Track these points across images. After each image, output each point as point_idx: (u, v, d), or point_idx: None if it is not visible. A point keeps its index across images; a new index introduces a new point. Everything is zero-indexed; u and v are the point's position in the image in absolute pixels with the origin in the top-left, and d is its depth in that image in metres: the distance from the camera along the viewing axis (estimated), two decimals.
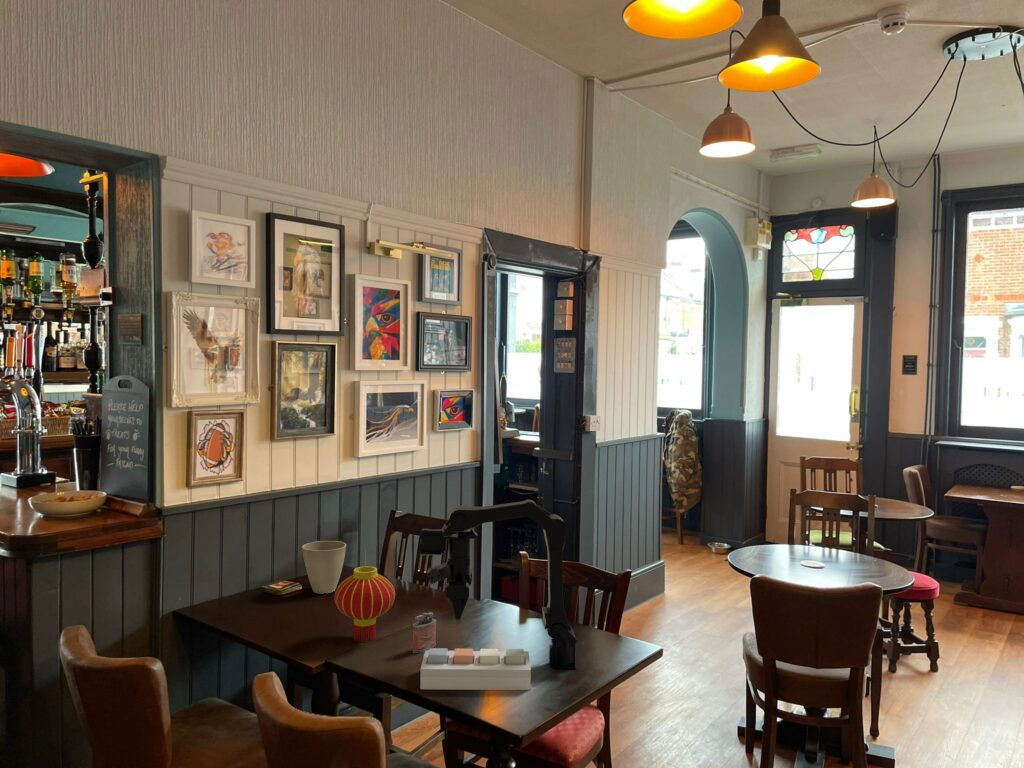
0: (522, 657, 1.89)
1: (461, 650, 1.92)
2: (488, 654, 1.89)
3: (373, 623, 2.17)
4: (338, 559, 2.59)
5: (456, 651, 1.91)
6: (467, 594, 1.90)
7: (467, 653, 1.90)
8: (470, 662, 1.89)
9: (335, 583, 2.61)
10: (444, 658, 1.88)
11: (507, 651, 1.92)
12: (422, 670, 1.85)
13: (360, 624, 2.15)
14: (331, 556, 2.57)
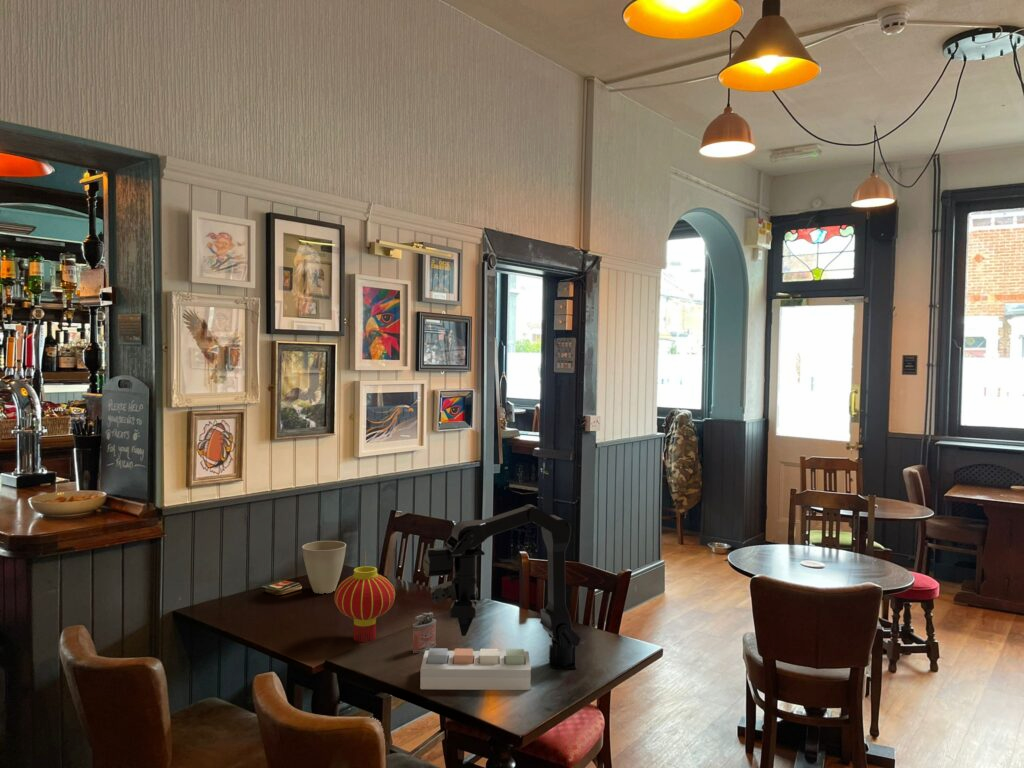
0: (522, 657, 1.89)
1: (461, 650, 1.92)
2: (488, 654, 1.89)
3: (373, 623, 2.17)
4: (338, 559, 2.59)
5: (456, 651, 1.91)
6: (473, 615, 1.81)
7: (467, 653, 1.90)
8: (470, 662, 1.89)
9: (335, 583, 2.61)
10: (444, 658, 1.88)
11: (507, 651, 1.92)
12: (422, 670, 1.85)
13: (360, 624, 2.15)
14: (331, 556, 2.57)
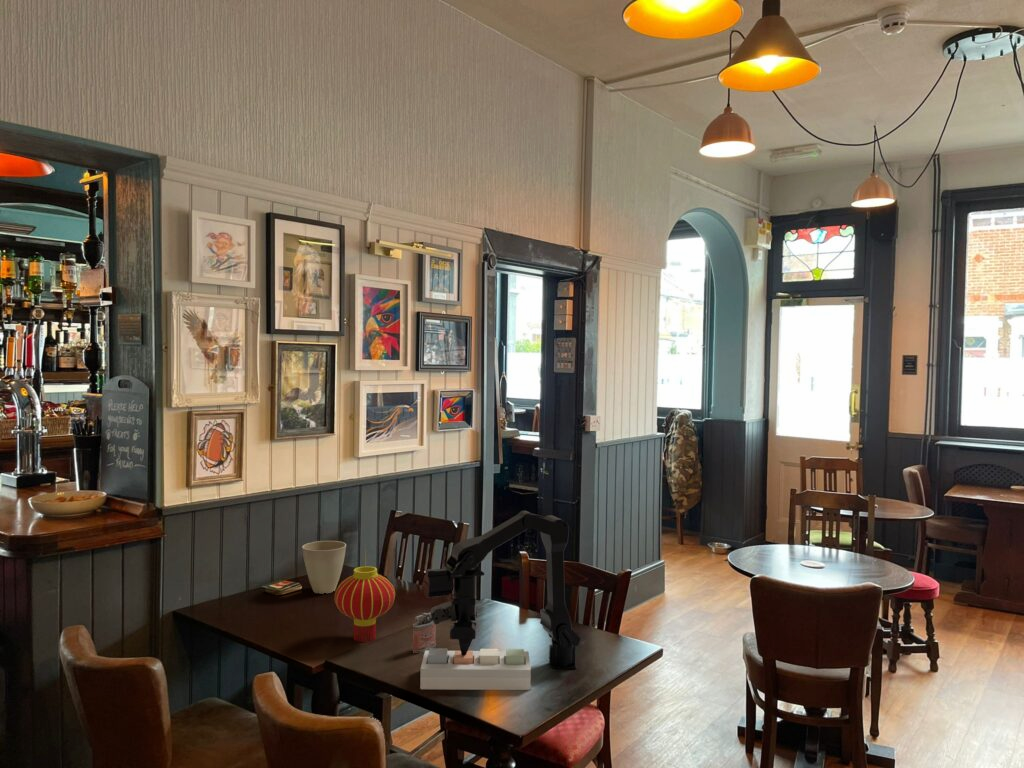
0: (522, 657, 1.89)
1: None
2: (488, 654, 1.89)
3: (373, 623, 2.17)
4: (338, 559, 2.59)
5: (456, 654, 1.91)
6: (473, 636, 1.81)
7: (467, 656, 1.90)
8: None
9: (335, 583, 2.61)
10: (444, 658, 1.88)
11: (507, 651, 1.92)
12: (422, 670, 1.85)
13: (360, 624, 2.15)
14: (331, 556, 2.57)
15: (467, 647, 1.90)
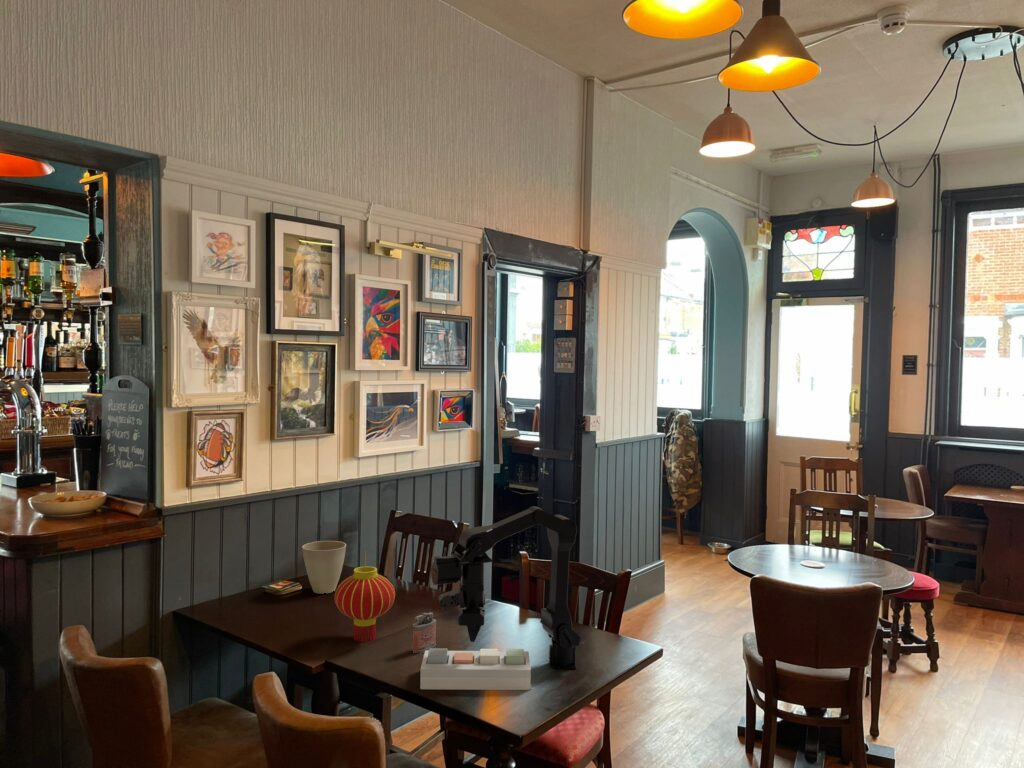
0: (522, 657, 1.89)
1: (461, 654, 1.92)
2: (488, 654, 1.89)
3: (373, 623, 2.17)
4: (338, 559, 2.59)
5: (456, 655, 1.91)
6: (482, 623, 1.81)
7: (467, 658, 1.90)
8: None
9: (335, 583, 2.61)
10: (444, 658, 1.88)
11: (507, 651, 1.92)
12: (422, 670, 1.85)
13: (360, 624, 2.15)
14: (331, 556, 2.57)
15: (476, 634, 1.90)
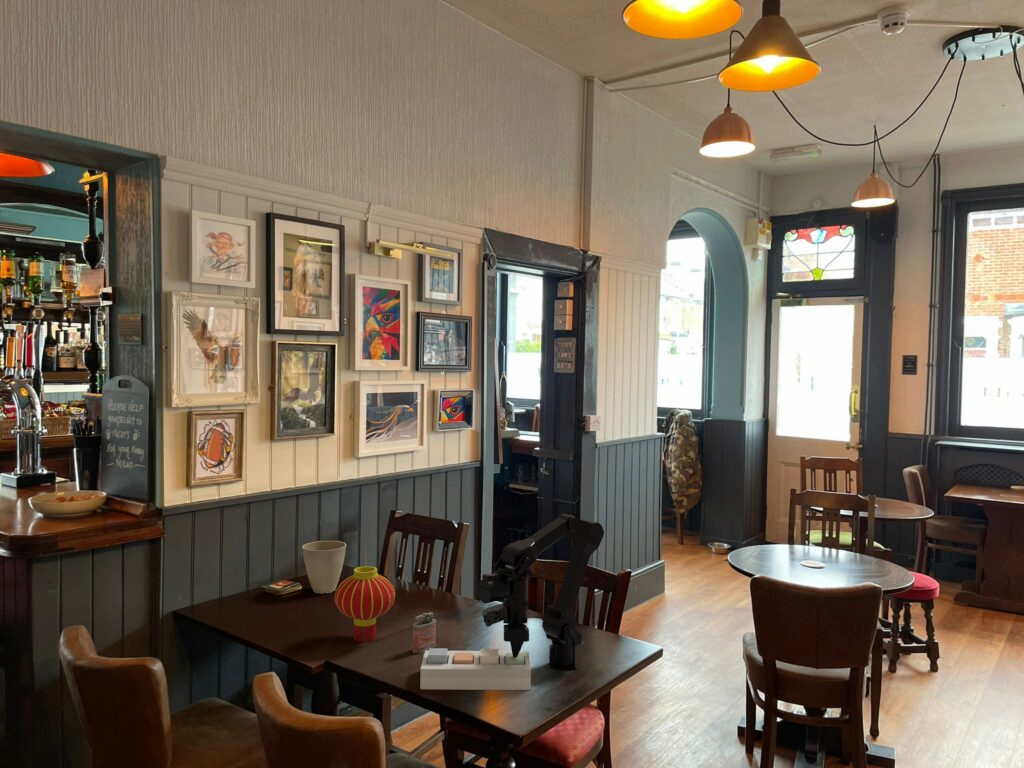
0: (522, 661, 1.89)
1: (461, 654, 1.92)
2: (488, 654, 1.89)
3: (373, 623, 2.17)
4: (338, 559, 2.59)
5: (456, 655, 1.91)
6: (527, 639, 1.82)
7: (467, 658, 1.90)
8: None
9: (335, 583, 2.61)
10: (444, 658, 1.88)
11: (507, 655, 1.92)
12: (422, 670, 1.85)
13: (360, 624, 2.15)
14: (331, 556, 2.57)
15: (519, 649, 1.90)
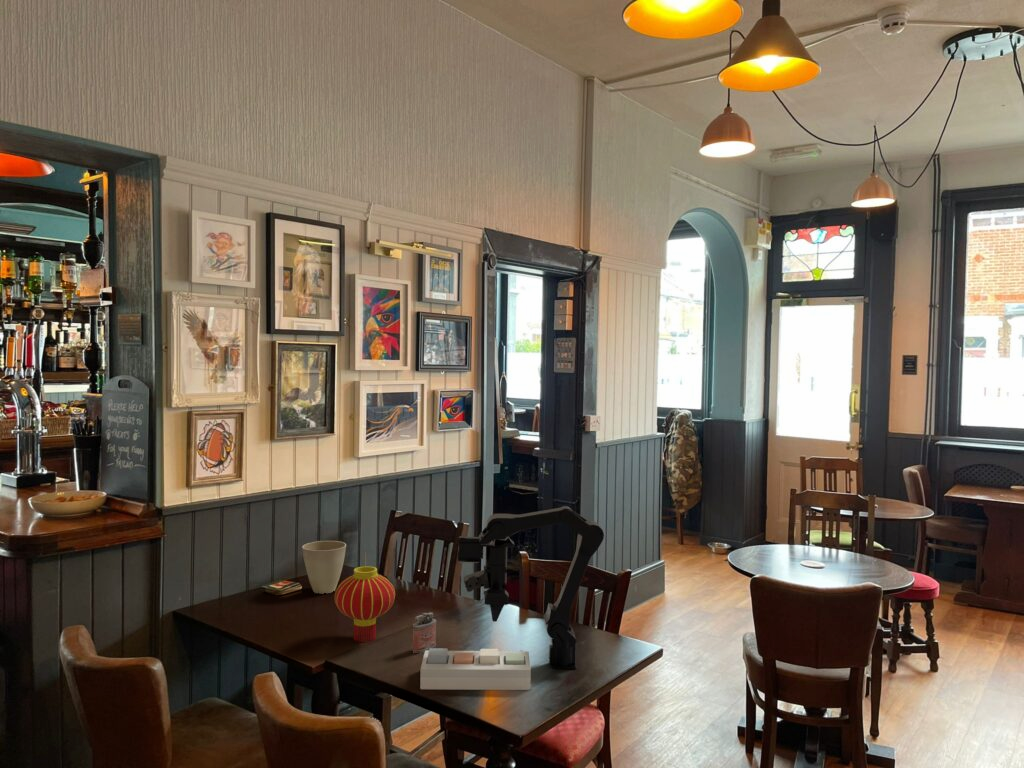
0: (522, 662, 1.89)
1: (461, 654, 1.92)
2: (488, 654, 1.89)
3: (373, 623, 2.17)
4: (338, 559, 2.59)
5: (456, 655, 1.91)
6: (507, 602, 1.91)
7: (467, 658, 1.90)
8: None
9: (335, 583, 2.61)
10: (444, 658, 1.88)
11: (507, 655, 1.92)
12: (422, 670, 1.85)
13: (360, 624, 2.15)
14: (331, 556, 2.57)
15: (498, 614, 1.99)
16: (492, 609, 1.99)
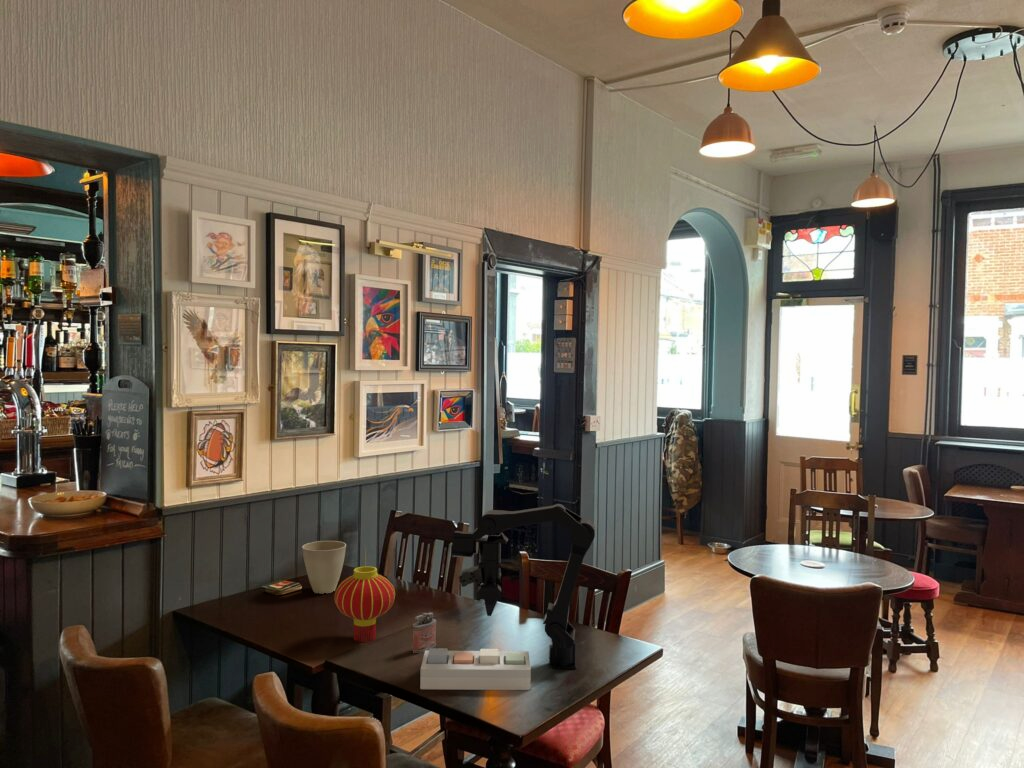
0: (522, 662, 1.89)
1: (461, 654, 1.92)
2: (488, 654, 1.89)
3: (373, 623, 2.17)
4: (338, 559, 2.59)
5: (456, 655, 1.91)
6: (499, 597, 1.94)
7: (467, 658, 1.90)
8: None
9: (335, 583, 2.61)
10: (444, 658, 1.88)
11: (507, 655, 1.92)
12: (422, 670, 1.85)
13: (360, 624, 2.15)
14: (331, 556, 2.57)
15: (492, 608, 2.03)
16: (486, 604, 2.02)
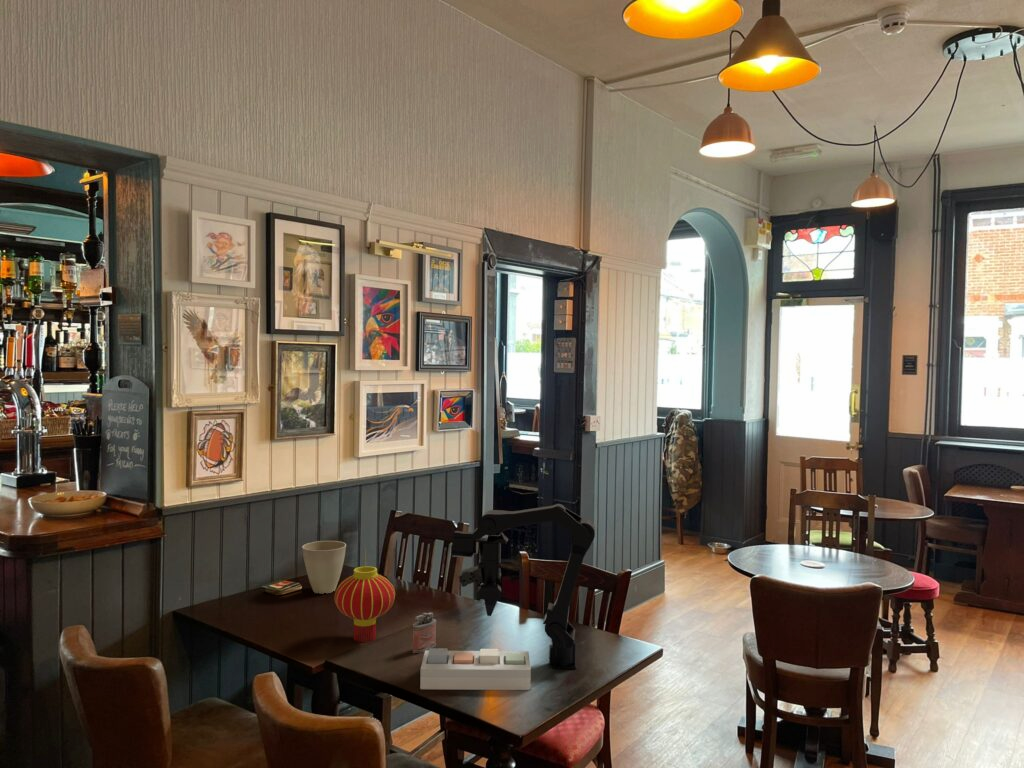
0: (522, 662, 1.89)
1: (461, 654, 1.92)
2: (488, 654, 1.89)
3: (373, 623, 2.17)
4: (338, 559, 2.59)
5: (456, 655, 1.91)
6: (499, 597, 1.94)
7: (467, 658, 1.90)
8: None
9: (335, 583, 2.61)
10: (444, 658, 1.88)
11: (507, 655, 1.92)
12: (422, 670, 1.85)
13: (360, 624, 2.15)
14: (331, 556, 2.57)
15: (492, 608, 2.03)
16: (486, 604, 2.02)
